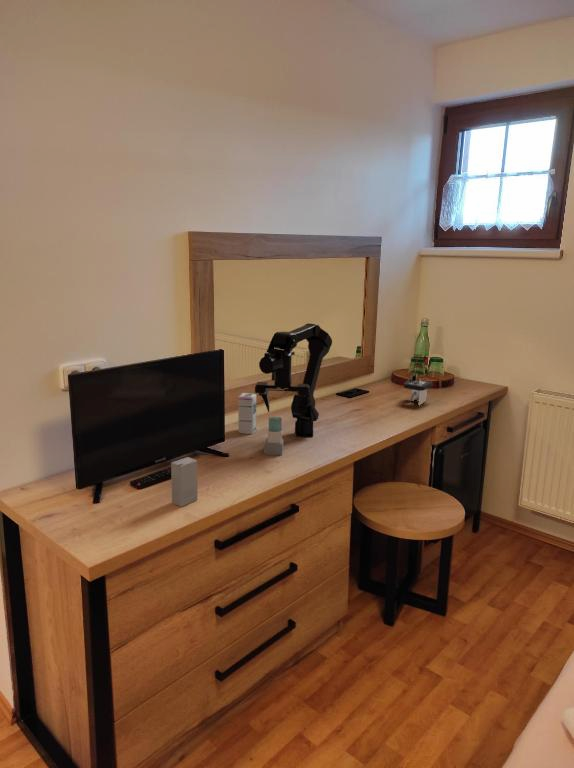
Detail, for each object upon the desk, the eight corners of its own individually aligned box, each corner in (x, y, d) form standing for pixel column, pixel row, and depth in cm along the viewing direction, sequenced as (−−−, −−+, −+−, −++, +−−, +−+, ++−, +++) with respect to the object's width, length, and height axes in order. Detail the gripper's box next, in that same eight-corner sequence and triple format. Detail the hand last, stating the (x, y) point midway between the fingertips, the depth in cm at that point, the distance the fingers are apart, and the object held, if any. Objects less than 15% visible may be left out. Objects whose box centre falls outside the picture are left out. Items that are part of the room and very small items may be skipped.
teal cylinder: (281, 428, 201) (282, 417, 200) (280, 432, 197) (280, 420, 196) (269, 427, 202) (269, 416, 201) (267, 431, 197) (268, 420, 197)
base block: (283, 449, 204) (283, 438, 203) (281, 455, 198) (282, 444, 197) (266, 448, 204) (266, 437, 203) (264, 454, 198) (264, 443, 197)
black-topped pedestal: (400, 393, 286) (402, 366, 282) (452, 402, 271) (455, 374, 268) (375, 405, 263) (377, 376, 260) (430, 416, 249) (433, 386, 246)
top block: (281, 438, 202) (281, 428, 202) (280, 443, 198) (281, 432, 197) (268, 438, 203) (268, 427, 202) (267, 442, 198) (268, 431, 197)
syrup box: (253, 434, 218) (253, 397, 214) (237, 433, 219) (238, 396, 215) (256, 429, 223) (257, 393, 220) (241, 428, 224) (242, 392, 221)
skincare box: (187, 496, 164) (187, 455, 161) (198, 500, 162) (198, 460, 159) (170, 502, 160) (169, 461, 157) (181, 507, 157) (180, 466, 154)
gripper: (310, 365, 207) (308, 407, 211) (258, 363, 208) (257, 404, 212) (309, 371, 197) (307, 415, 200) (255, 369, 198) (254, 413, 201)
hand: (281, 412), depth 204 cm, fingers open, 9 cm apart
